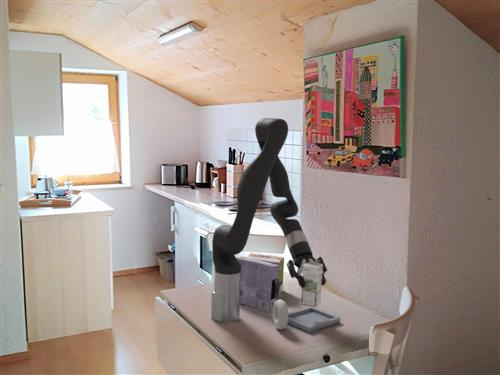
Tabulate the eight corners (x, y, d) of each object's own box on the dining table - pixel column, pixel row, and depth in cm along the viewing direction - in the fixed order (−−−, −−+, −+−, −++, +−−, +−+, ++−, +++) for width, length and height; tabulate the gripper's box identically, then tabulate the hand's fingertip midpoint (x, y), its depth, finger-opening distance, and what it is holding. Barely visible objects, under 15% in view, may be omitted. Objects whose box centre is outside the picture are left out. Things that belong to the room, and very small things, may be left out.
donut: (288, 334, 171) (290, 304, 170) (278, 334, 170) (280, 305, 169) (280, 322, 181) (281, 295, 179) (270, 323, 180) (272, 295, 179)
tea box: (242, 293, 212) (243, 258, 210) (249, 286, 221) (250, 252, 220) (277, 297, 208) (279, 261, 206) (283, 290, 217) (284, 256, 215)
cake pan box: (279, 309, 194) (281, 264, 192) (272, 313, 189) (274, 266, 187) (239, 298, 205) (240, 255, 203) (231, 301, 201) (232, 257, 199)
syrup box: (321, 302, 183) (323, 263, 181) (316, 307, 178) (318, 267, 176) (306, 300, 186) (307, 260, 184) (300, 305, 180) (302, 264, 178)
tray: (309, 333, 172) (309, 327, 172) (280, 320, 182) (280, 315, 182) (340, 322, 182) (340, 317, 182) (310, 311, 193) (311, 306, 193)
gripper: (285, 241, 183) (300, 282, 174) (319, 239, 189) (335, 278, 180) (277, 252, 188) (292, 293, 179) (310, 249, 194) (326, 288, 185)
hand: (314, 285), depth 180 cm, fingers closed on syrup box, 8 cm apart
